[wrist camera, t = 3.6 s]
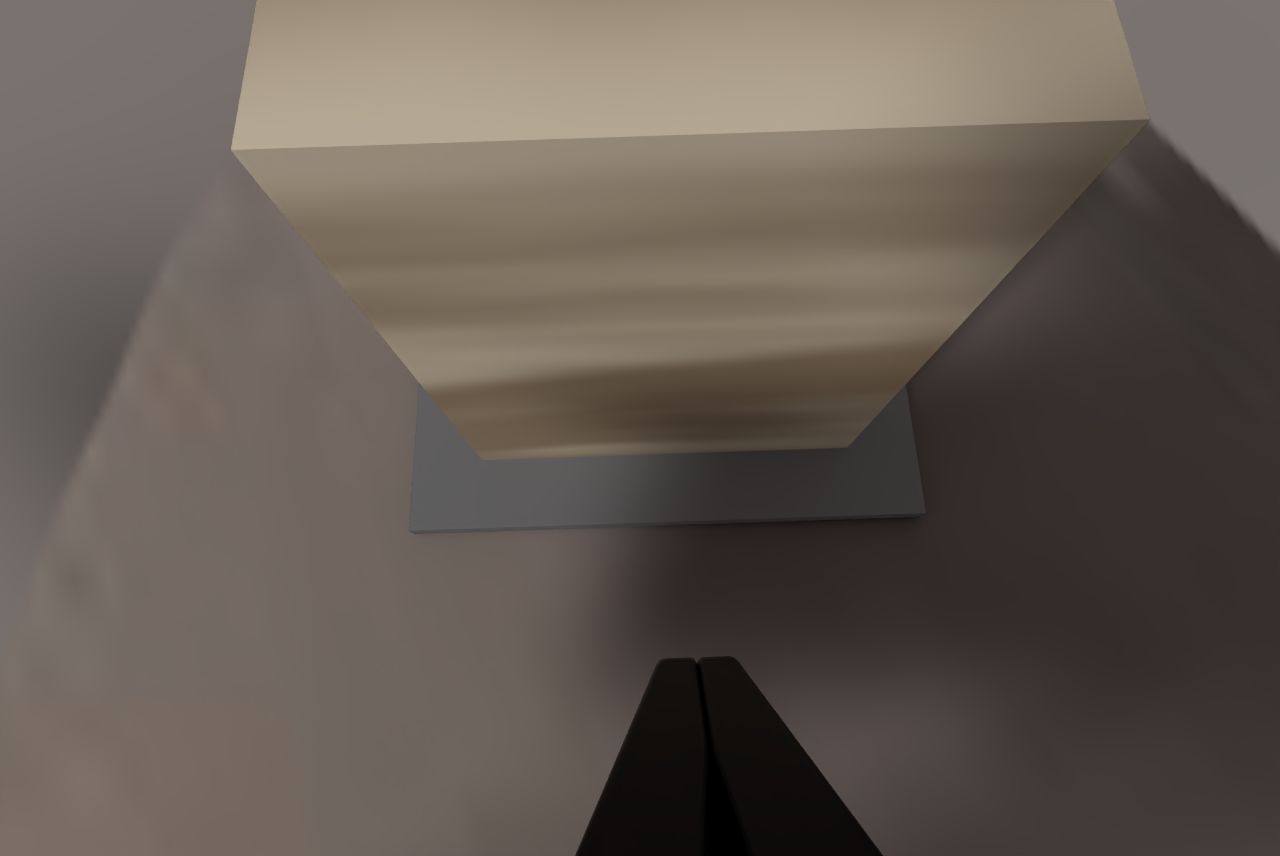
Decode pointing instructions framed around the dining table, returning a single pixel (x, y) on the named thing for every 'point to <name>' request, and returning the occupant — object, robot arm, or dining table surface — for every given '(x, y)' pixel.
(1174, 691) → the dining table surface
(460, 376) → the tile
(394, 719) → the dining table surface
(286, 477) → the dining table surface
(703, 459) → the mat
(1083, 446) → the dining table surface
